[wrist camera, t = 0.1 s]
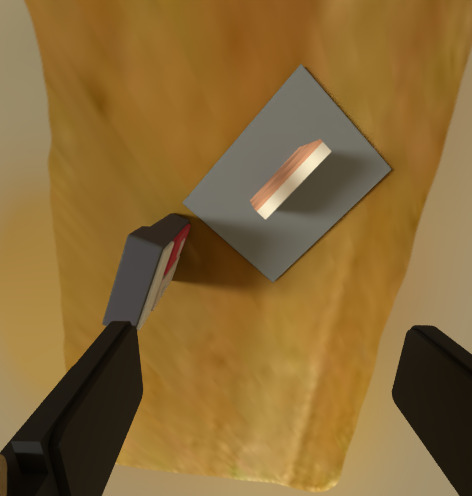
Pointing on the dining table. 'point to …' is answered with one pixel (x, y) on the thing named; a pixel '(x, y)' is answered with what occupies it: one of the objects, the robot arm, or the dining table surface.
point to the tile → (289, 177)
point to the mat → (268, 163)
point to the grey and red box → (146, 269)
